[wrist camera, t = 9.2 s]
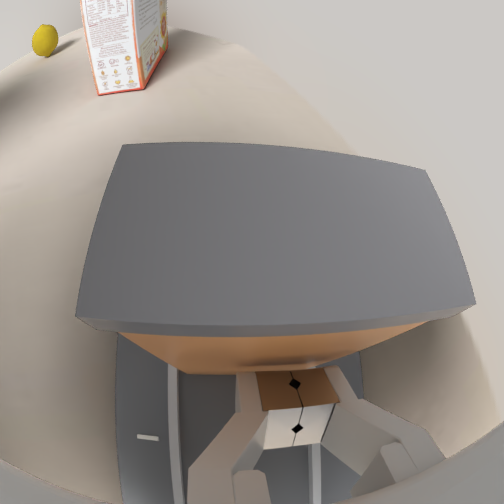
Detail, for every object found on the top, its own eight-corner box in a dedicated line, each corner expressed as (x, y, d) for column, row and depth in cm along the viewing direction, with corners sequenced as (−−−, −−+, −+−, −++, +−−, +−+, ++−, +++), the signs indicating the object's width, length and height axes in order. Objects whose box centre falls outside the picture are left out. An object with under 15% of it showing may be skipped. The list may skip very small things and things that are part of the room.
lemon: (64, 47, 33) (59, 16, 26) (54, 57, 31) (47, 23, 24) (43, 55, 32) (36, 25, 25) (32, 66, 30) (24, 34, 23)
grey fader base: (356, 535, 8) (370, 546, 6) (137, 549, 7) (129, 563, 5) (315, 161, 20) (321, 144, 19) (155, 155, 19) (152, 136, 17)
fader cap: (298, 373, 12) (476, 304, 3) (185, 376, 11) (75, 316, 2) (293, 321, 13) (425, 170, 4) (186, 321, 13) (122, 145, 4)
